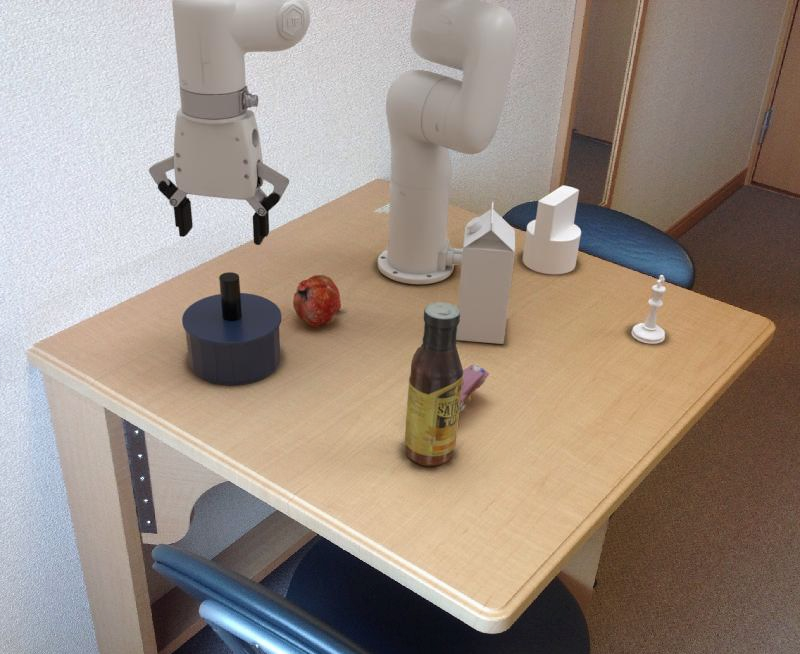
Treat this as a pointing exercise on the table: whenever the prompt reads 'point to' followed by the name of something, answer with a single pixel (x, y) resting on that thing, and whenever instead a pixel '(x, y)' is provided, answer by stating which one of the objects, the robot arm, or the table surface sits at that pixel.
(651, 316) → the chess piece
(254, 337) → the lid
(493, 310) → the milk carton
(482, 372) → the video game controller
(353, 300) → the table surface
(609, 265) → the table surface
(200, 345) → the bowl
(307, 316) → the pomegranate
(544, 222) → the cylinder with rectangular tab
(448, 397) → the sauce bottle
